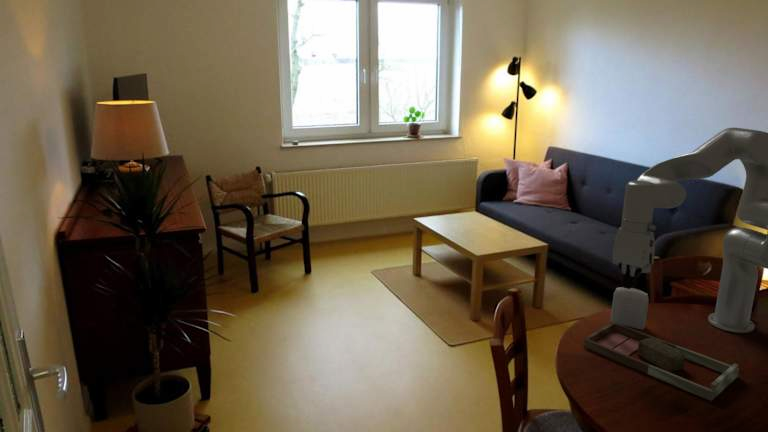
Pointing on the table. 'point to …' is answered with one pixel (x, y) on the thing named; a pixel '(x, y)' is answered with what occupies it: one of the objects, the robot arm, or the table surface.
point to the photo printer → (629, 307)
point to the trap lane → (631, 345)
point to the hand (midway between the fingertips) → (628, 287)
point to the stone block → (661, 354)
